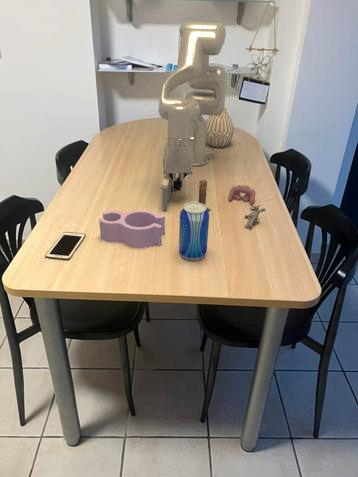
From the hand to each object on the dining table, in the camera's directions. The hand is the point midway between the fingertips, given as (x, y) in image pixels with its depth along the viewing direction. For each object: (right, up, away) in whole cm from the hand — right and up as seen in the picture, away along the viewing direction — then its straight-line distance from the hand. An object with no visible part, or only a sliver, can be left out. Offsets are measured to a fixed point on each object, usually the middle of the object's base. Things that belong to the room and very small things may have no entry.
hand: (177, 189), depth 146 cm
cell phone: (-34, -21, -24) cm, 47 cm away
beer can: (+5, -23, -26) cm, 35 cm away
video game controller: (+25, -4, +6) cm, 26 cm away
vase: (+21, +31, +62) cm, 72 cm away
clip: (-14, -18, -18) cm, 30 cm away
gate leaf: (-4, -3, +3) cm, 6 cm away
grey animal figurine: (+26, -13, -9) cm, 31 cm away
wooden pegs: (+3, -3, +5) cm, 7 cm away
